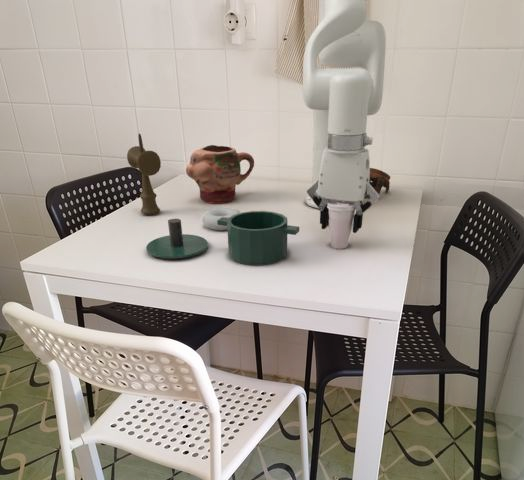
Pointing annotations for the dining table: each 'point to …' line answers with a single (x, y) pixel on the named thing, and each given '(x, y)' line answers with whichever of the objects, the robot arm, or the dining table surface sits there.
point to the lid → (176, 243)
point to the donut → (217, 217)
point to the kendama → (145, 174)
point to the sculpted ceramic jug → (218, 172)
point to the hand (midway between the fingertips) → (340, 228)
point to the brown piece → (378, 180)
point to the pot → (257, 237)
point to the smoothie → (340, 222)
